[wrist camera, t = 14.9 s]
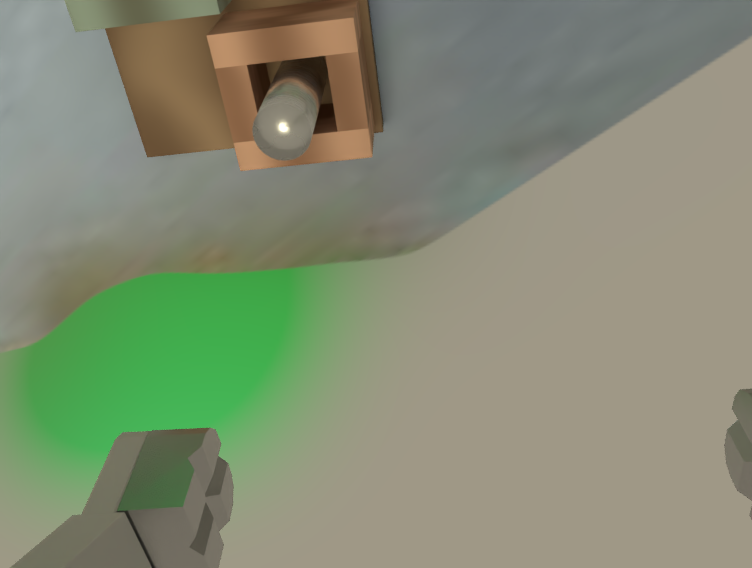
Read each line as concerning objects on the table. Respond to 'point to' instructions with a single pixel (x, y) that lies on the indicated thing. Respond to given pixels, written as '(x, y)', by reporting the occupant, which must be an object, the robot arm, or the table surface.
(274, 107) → the metal pin
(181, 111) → the dock board
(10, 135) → the table surface
